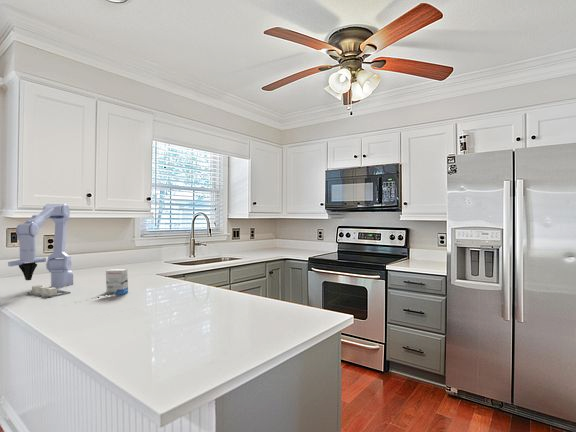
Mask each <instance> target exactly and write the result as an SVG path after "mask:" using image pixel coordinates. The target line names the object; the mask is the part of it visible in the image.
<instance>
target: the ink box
mask: <svg viewBox="0 0 576 432" xmlns="http://www.w3.org/2000/svg"><path fill="white" fill-rule="evenodd" d="M128 279H129V277H128V269H127V268H125V269H124V268H123V269H122V268H115V269H114V268H112V269H107V270H106V271H105V280H106V281H105V282H106V284H105V286H106V293H107V294H106V295H107V296H109V295H110V296H111V295H113V296H115V295H117V296H119V295H121V296H123V295H125V294H127V293H129V281H128Z"/></svg>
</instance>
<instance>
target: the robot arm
mask: <svg viewBox="0 0 576 432" xmlns="http://www.w3.org/2000/svg"><path fill="white" fill-rule="evenodd" d="M70 211H71V209H70V207H69V205H68V204H67V203H46V204H45V205H44V206H43V210H42V211H41V212H40V213H39V214H33V215H32V216H31V217H30V218H29V219H28V220H26V221H25V222H24V223H20V224H18V225H17V226H16V229H15V233H16V236H17V239H18V241H19V245H18V246H19V259H17V260H13V261H7V266H8V267H15V266H18V267H19V269H20V270H21V272H22V274H23V276H24V280H25V281H31V280H32V278H33V274H34V272H35V270H36V268H37V267H38V264H37V263H45V267H46V270H47V271H48V272H49V273H50V285H51V286H50V288H52V287H54V288H63V287H67V286H72V285H74V273H73V271H72V270H71V267H72V260H71V257H72V256H70V255H69V254H68V253H66V242H67V241H66V240H67V226H68V225H67V224H68V221H69V220H70V213H71V212H70ZM48 218H49V220H51V221H53V222H54V224H55V225H54V239H53V251H52V253H51V254H49V255H48V257H36V256H37V255H36V254H37V251H36V250H37V249H36V236H38V233H39V230H40V228H41V227H43V226H44V225H45V223H46V220H47V219H48Z"/></svg>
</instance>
